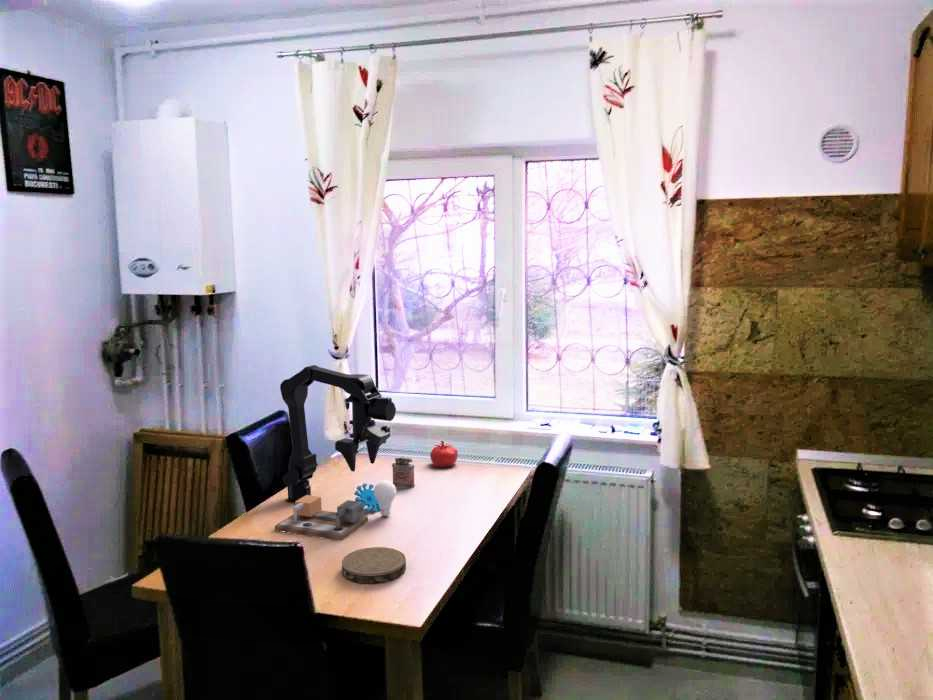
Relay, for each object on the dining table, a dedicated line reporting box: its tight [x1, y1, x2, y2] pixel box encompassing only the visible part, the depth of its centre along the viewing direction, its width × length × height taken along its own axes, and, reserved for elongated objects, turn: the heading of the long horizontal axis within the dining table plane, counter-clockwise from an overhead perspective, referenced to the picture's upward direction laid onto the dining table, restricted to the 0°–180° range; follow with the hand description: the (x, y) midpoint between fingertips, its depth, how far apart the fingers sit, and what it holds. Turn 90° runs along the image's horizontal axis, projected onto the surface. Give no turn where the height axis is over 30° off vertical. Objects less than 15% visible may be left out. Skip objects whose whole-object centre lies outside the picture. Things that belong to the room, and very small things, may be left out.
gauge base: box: [274, 499, 369, 542], centre depth 216 cm, size 22×15×7 cm
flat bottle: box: [391, 456, 416, 489], centre depth 250 cm, size 8×3×10 cm, turn 68°
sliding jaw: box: [292, 494, 323, 523], centre depth 218 cm, size 5×10×4 cm, turn 159°
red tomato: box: [429, 440, 459, 468], centre depth 273 cm, size 10×10×9 cm
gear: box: [353, 482, 381, 514], centre depth 230 cm, size 11×6×10 cm
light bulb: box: [373, 479, 397, 517], centre depth 223 cm, size 7×7×11 cm
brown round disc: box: [341, 546, 407, 586], centre depth 187 cm, size 16×16×3 cm
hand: (362, 467), depth 226 cm, fingers open, 9 cm apart
